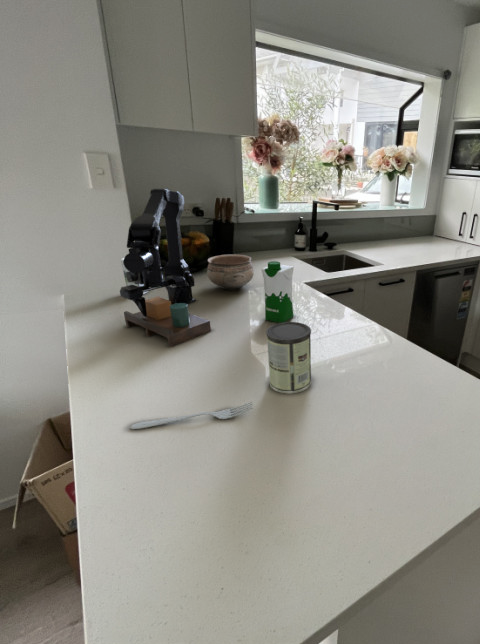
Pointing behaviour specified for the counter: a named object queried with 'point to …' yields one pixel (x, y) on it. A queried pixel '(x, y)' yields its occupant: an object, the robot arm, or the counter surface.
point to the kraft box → (158, 308)
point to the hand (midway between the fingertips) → (158, 312)
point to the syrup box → (126, 277)
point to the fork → (221, 415)
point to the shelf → (169, 327)
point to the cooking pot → (230, 271)
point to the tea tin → (180, 315)
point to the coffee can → (289, 357)
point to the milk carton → (278, 292)
